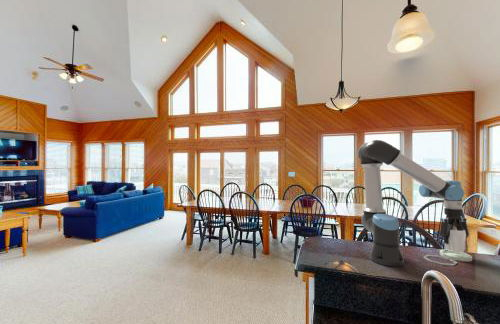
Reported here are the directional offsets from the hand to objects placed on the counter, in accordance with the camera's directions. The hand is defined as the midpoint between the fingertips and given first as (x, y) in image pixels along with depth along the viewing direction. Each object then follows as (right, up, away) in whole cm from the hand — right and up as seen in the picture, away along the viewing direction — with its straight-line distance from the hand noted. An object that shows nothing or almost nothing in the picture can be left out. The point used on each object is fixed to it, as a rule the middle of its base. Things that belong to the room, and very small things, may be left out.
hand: (455, 249), depth 120 cm
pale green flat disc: (0, -4, 0) cm, 4 cm away
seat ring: (-13, -4, -6) cm, 15 cm away
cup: (0, -1, 0) cm, 1 cm away
